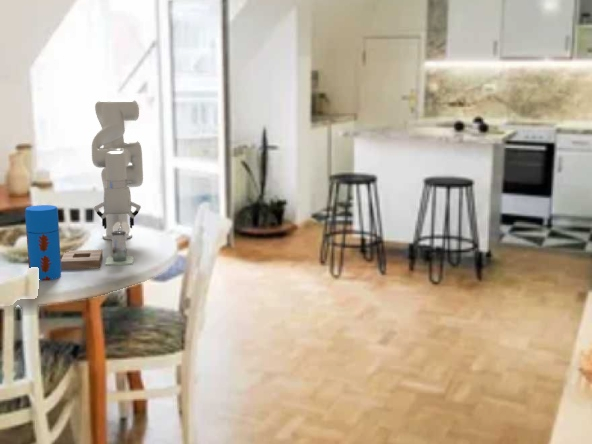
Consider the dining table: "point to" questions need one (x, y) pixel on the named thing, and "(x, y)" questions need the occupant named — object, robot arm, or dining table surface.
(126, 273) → the dining table surface
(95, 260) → the block
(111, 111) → the robot arm
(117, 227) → the light bulb
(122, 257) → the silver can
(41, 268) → the thermos
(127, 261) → the pad
